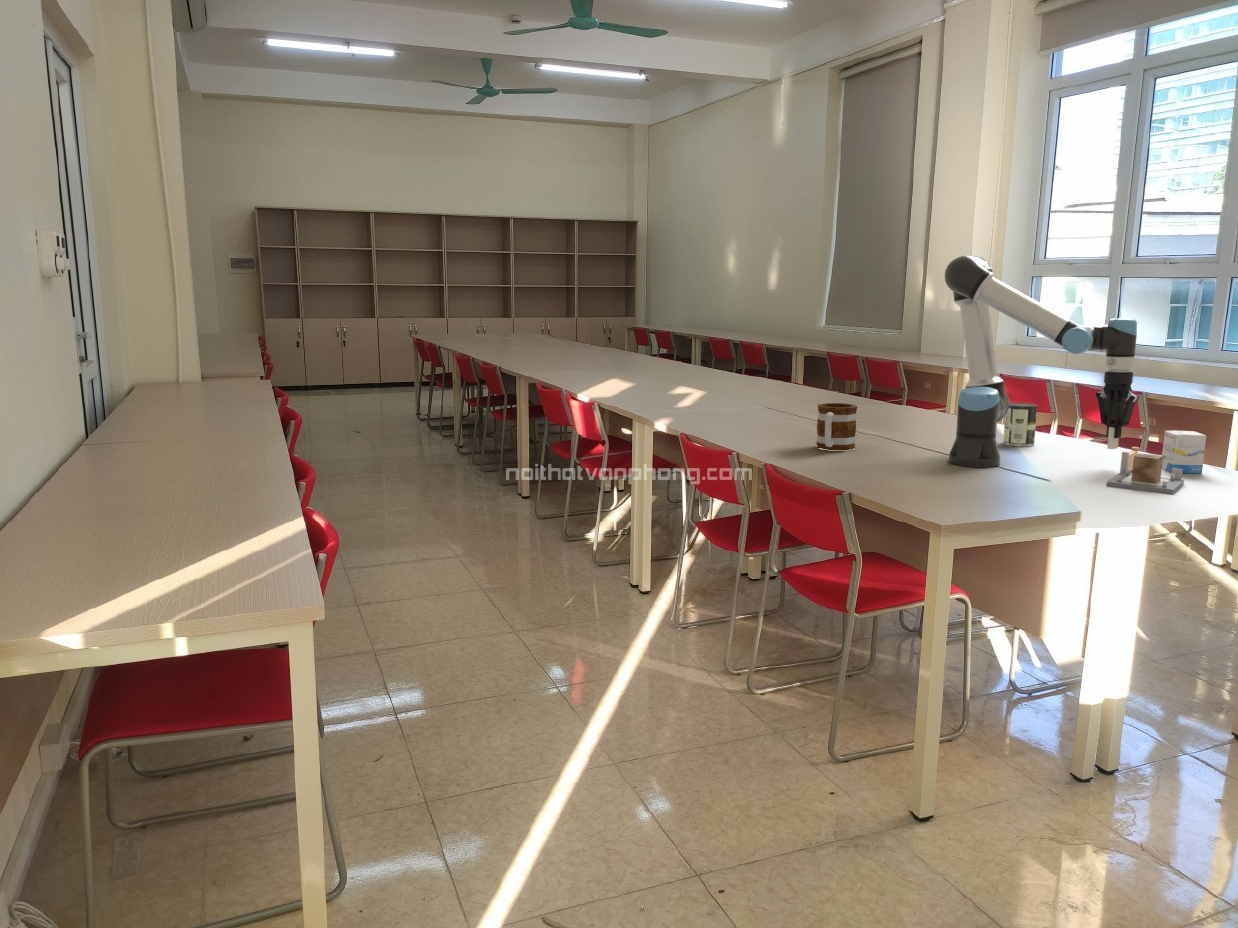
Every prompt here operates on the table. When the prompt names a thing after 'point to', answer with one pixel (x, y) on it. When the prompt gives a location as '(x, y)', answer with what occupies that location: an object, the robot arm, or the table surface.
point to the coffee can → (1020, 424)
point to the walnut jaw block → (1147, 468)
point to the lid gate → (1132, 457)
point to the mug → (836, 426)
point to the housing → (1162, 486)
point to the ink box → (1183, 451)
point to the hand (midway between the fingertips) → (1112, 448)
